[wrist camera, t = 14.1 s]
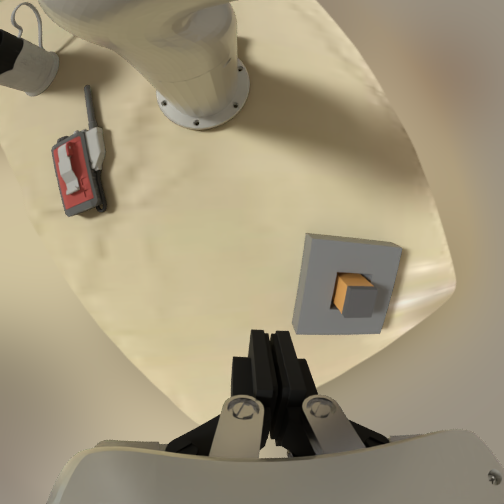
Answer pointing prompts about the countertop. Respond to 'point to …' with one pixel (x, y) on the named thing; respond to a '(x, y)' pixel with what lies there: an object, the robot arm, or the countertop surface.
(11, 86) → the grey and black mug
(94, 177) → the walkie-talkie
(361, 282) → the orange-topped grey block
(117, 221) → the countertop surface
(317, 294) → the socket plate
